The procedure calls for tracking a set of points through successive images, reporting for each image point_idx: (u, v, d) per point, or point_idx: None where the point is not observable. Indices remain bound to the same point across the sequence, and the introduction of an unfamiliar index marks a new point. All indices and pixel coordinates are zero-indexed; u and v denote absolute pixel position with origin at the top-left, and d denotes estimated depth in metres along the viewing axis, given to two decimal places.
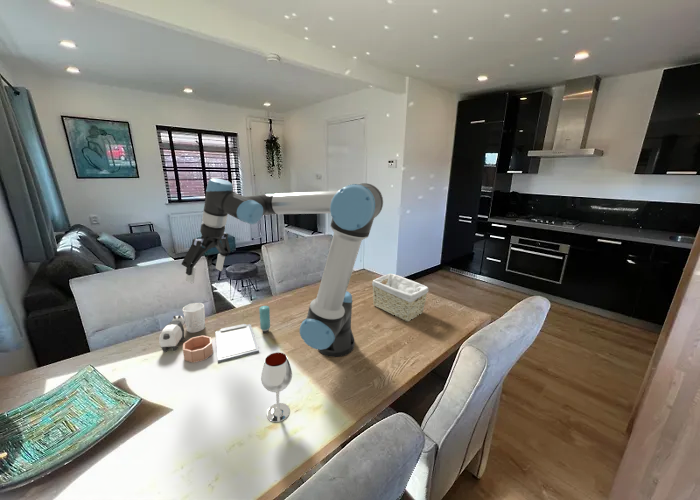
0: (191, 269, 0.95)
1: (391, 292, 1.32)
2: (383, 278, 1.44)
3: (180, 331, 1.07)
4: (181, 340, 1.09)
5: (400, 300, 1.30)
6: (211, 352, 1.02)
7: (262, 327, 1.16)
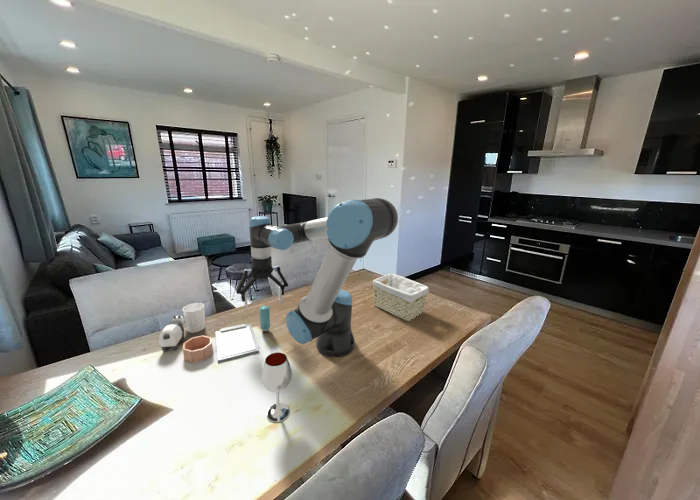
0: (243, 296, 1.09)
1: (392, 292, 1.32)
2: (383, 278, 1.44)
3: (180, 331, 1.07)
4: (181, 340, 1.09)
5: (400, 300, 1.30)
6: (211, 352, 1.02)
7: (262, 327, 1.16)
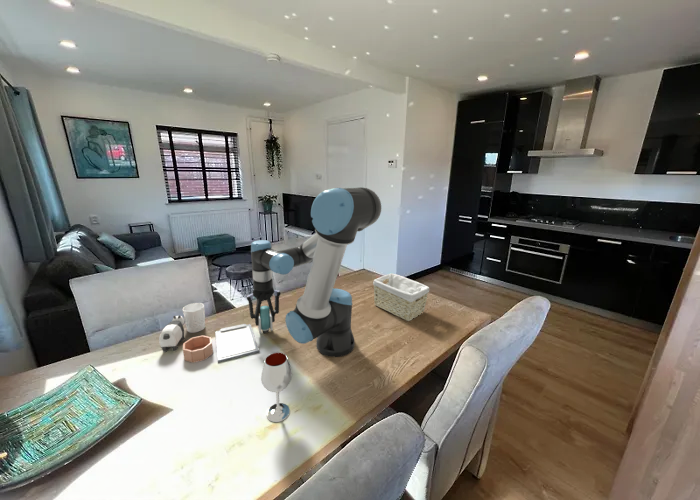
0: (257, 320, 1.15)
1: (392, 291, 1.32)
2: (384, 278, 1.45)
3: (180, 331, 1.07)
4: (181, 340, 1.09)
5: (401, 300, 1.30)
6: (211, 352, 1.02)
7: (262, 327, 1.16)
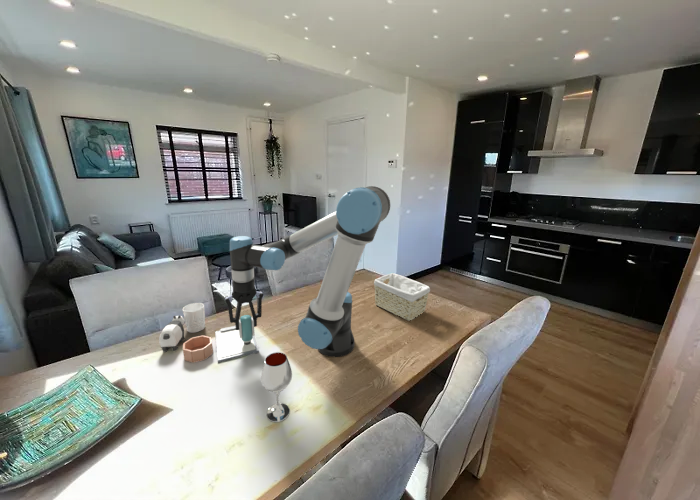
0: (237, 324, 1.04)
1: (393, 291, 1.33)
2: (385, 278, 1.45)
3: (180, 331, 1.07)
4: (181, 340, 1.09)
5: (402, 299, 1.30)
6: (211, 352, 1.02)
7: (243, 338, 1.06)
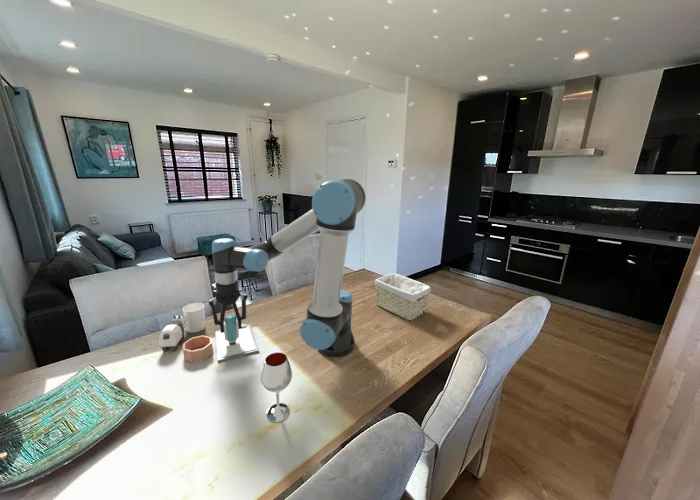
0: (222, 326, 1.04)
1: (393, 291, 1.33)
2: (386, 277, 1.45)
3: (180, 331, 1.07)
4: (181, 340, 1.09)
5: (402, 299, 1.31)
6: (211, 352, 1.02)
7: (228, 338, 1.05)
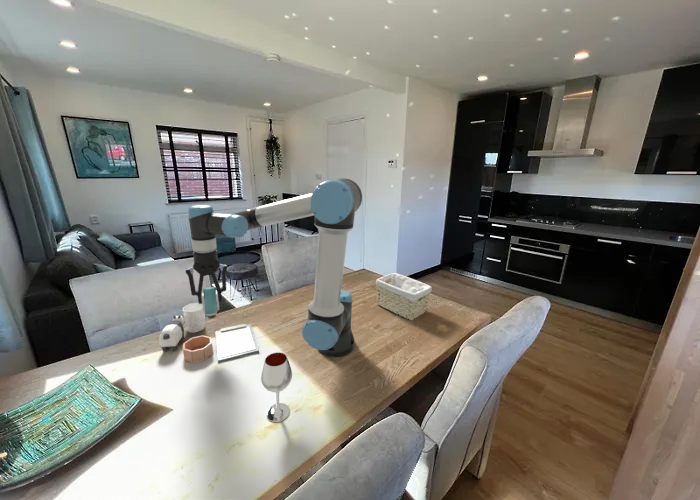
0: (200, 298, 1.01)
1: (395, 291, 1.33)
2: (387, 277, 1.45)
3: (180, 331, 1.07)
4: (181, 340, 1.09)
5: (403, 299, 1.31)
6: (211, 352, 1.02)
7: (207, 311, 1.01)
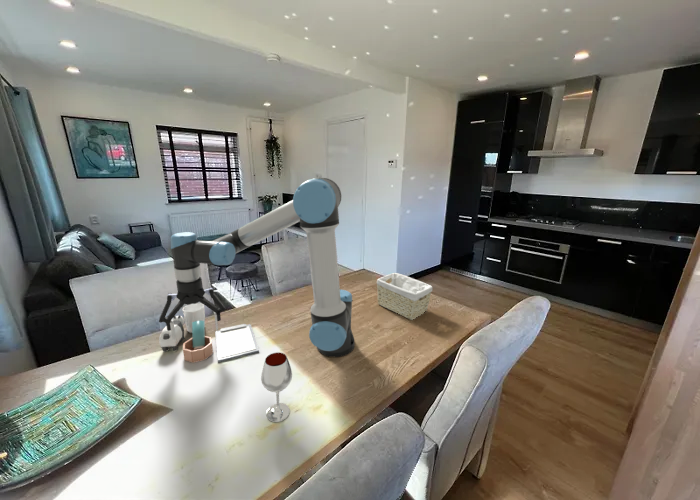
0: (169, 324, 0.95)
1: (396, 291, 1.33)
2: (387, 277, 1.46)
3: (180, 331, 1.07)
4: (181, 340, 1.09)
5: (404, 299, 1.31)
6: (211, 352, 1.02)
7: (195, 343, 1.01)
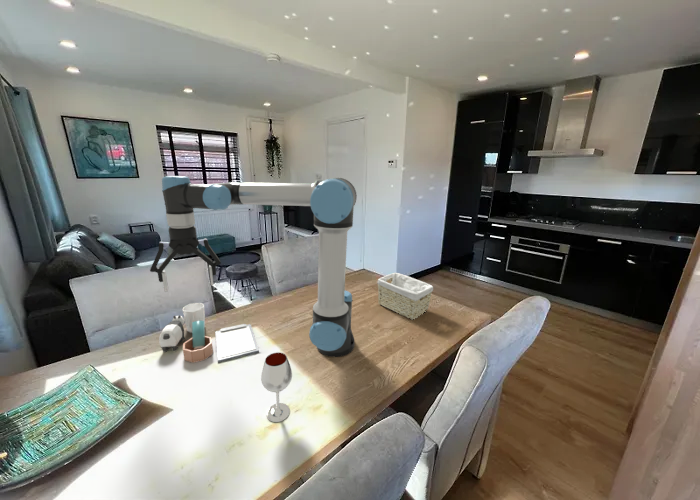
0: (160, 275, 0.90)
1: (396, 290, 1.34)
2: (388, 277, 1.46)
3: (180, 331, 1.07)
4: (181, 340, 1.09)
5: (405, 299, 1.31)
6: (211, 352, 1.02)
7: (195, 343, 1.01)
